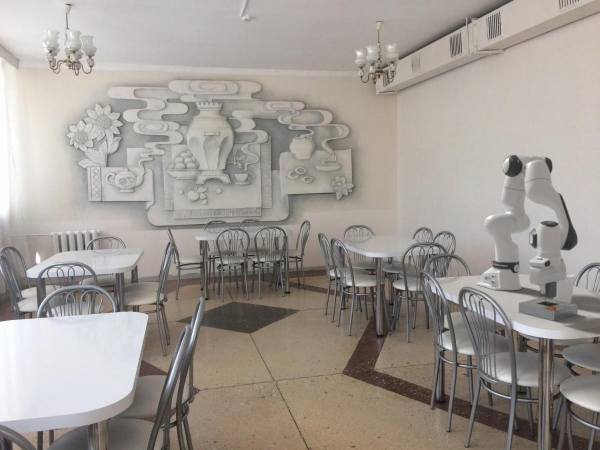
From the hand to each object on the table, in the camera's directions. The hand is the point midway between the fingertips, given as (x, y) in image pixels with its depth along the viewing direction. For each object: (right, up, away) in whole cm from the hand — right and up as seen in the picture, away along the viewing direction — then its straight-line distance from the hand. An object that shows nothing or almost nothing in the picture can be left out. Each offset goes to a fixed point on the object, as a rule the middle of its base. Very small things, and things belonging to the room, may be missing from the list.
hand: (548, 292), depth 203 cm
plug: (0, -3, 0) cm, 3 cm away
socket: (0, -9, +1) cm, 9 cm away
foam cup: (+15, -7, +16) cm, 23 cm away
